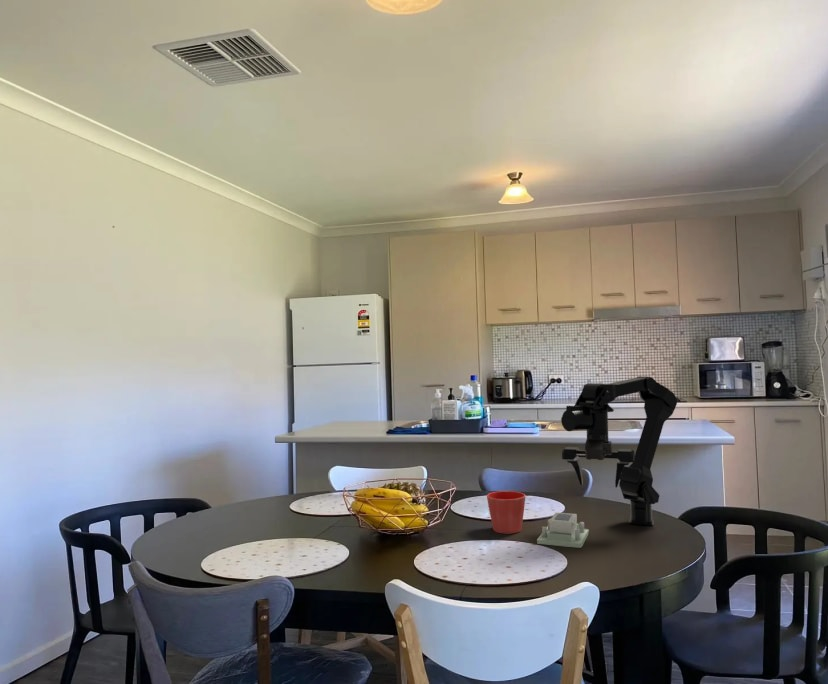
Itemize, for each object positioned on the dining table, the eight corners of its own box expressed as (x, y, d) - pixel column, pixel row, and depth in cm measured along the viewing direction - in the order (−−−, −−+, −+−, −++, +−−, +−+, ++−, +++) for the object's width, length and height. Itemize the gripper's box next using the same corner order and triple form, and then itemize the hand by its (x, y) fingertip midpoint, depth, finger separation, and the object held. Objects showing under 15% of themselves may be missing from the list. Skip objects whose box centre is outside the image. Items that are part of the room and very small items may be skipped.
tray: (547, 529, 171) (547, 516, 171) (588, 533, 167) (588, 520, 167) (537, 543, 158) (536, 529, 158) (581, 547, 154) (580, 533, 154)
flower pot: (481, 532, 169) (480, 497, 170) (495, 523, 179) (494, 489, 179) (519, 537, 164) (518, 500, 165) (531, 527, 174) (530, 492, 174)
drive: (556, 529, 168) (555, 512, 168) (577, 531, 166) (576, 513, 166) (549, 538, 160) (549, 520, 160) (571, 540, 157) (571, 521, 158)
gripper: (557, 431, 167) (559, 489, 166) (631, 433, 159) (632, 494, 159) (564, 427, 177) (566, 482, 176) (633, 428, 170) (635, 486, 169)
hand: (598, 486), depth 170 cm, fingers open, 9 cm apart
